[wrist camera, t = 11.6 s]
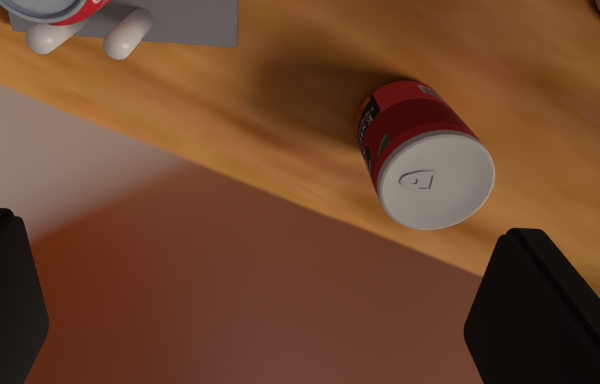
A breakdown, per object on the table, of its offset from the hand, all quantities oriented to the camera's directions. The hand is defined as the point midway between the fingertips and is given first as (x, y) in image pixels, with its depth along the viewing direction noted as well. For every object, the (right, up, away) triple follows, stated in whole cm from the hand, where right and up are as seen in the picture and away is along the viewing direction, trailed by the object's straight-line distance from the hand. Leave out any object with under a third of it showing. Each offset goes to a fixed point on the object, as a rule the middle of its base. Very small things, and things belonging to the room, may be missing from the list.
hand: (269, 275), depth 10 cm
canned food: (+9, +8, +32) cm, 34 cm away
